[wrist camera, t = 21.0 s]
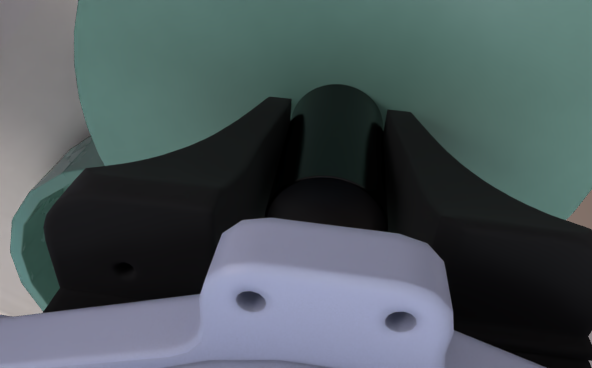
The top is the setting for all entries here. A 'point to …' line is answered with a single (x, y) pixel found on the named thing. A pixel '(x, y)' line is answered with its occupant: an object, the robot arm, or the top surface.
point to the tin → (31, 217)
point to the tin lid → (349, 90)
